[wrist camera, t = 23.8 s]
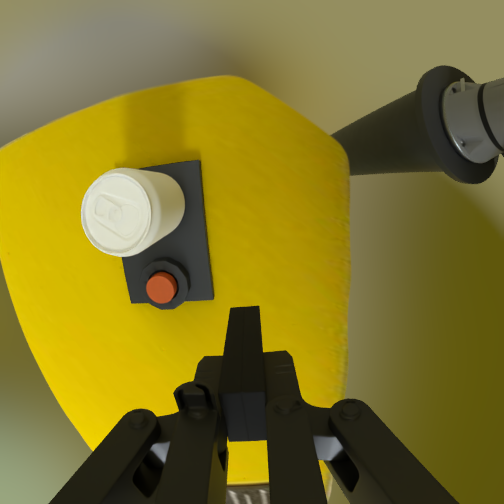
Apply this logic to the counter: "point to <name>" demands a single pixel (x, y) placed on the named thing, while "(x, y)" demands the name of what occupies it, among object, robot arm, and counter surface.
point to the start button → (161, 287)
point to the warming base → (176, 246)
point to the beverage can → (131, 210)
